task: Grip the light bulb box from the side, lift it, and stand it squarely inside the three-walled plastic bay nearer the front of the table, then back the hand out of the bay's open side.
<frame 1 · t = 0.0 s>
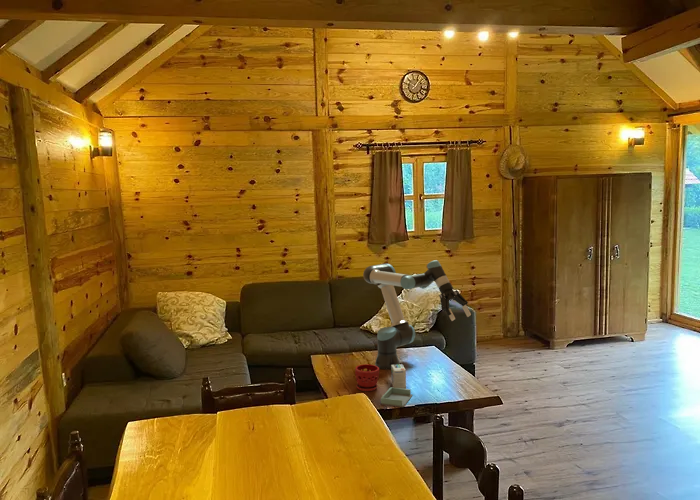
hand: (461, 318, 288), 36 cm above the table, tool tilted 35°, fingers open, 13 cm apart
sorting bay: (397, 399, 266), on the table
light bulb box: (398, 386, 286), on the table
plant pot: (367, 388, 283), on the table
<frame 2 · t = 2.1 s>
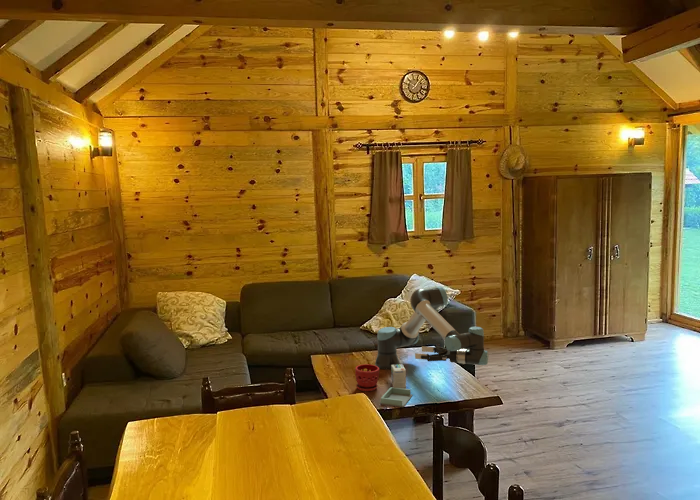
hand: (418, 352, 279), 20 cm above the table, tool horizontal, fingers open, 13 cm apart
nothing on the table moved.
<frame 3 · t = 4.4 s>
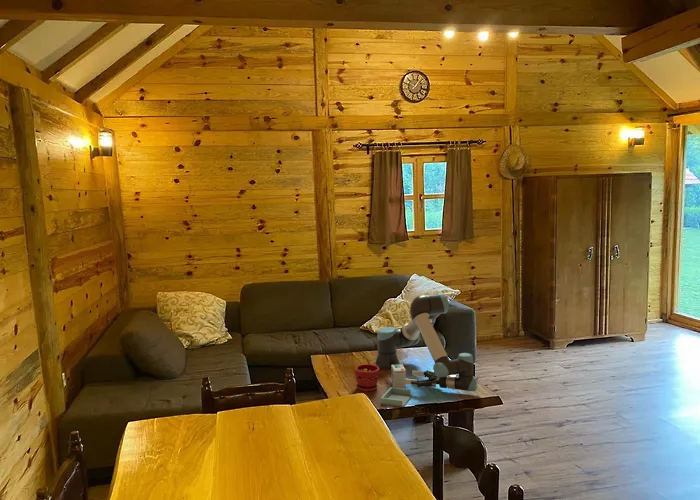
hand: (408, 377, 282), 6 cm above the table, tool horizontal, fingers open, 13 cm apart
nothing on the table moved.
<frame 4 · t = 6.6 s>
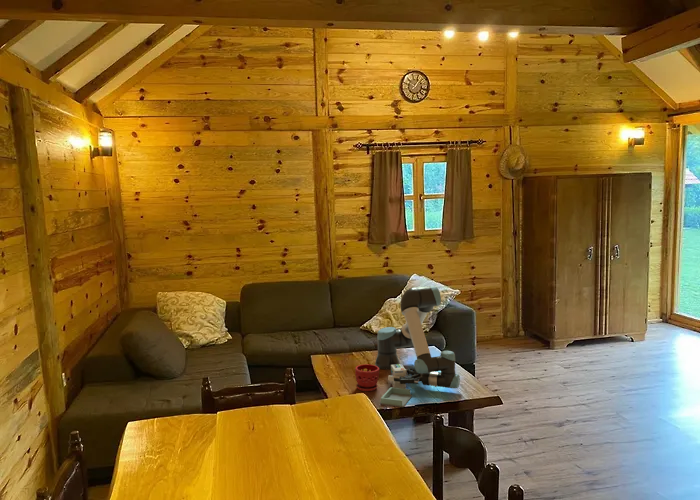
hand: (392, 374, 286), 6 cm above the table, tool horizontal, fingers closed on light bulb box, 12 cm apart
light bulb box: (398, 386, 286), on the table, touching gripper
everything else where it was.
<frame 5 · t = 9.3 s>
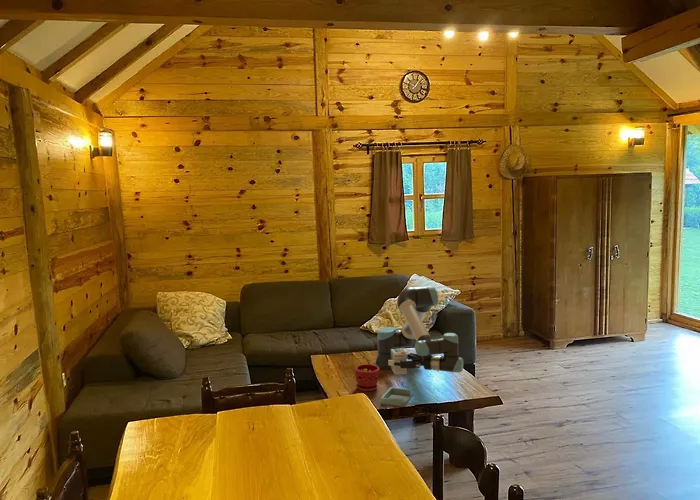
hand: (392, 359, 273), 19 cm above the table, tool horizontal, fingers closed on light bulb box, 12 cm apart
light bulb box: (398, 371, 272), point 13 cm above the table, touching gripper
everything else where it was.
when the fingers open (8 cm above the table, at t = 12.4 s): light bulb box stays where it is, resting on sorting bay.
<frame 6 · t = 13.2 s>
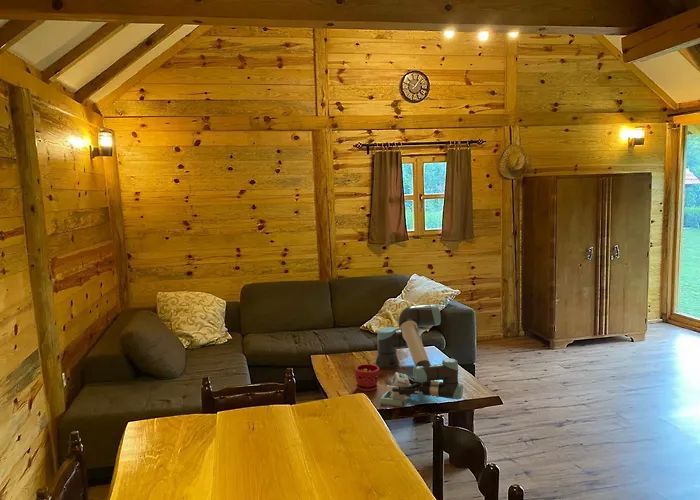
hand: (391, 383, 266), 8 cm above the table, tool horizontal, fingers open, 13 cm apart
light bulb box: (396, 396, 266), point 2 cm above the table, touching gripper, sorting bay
everything else where it was.
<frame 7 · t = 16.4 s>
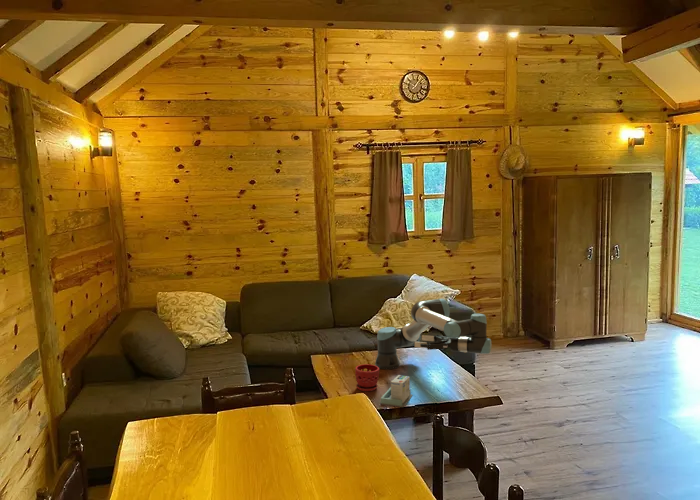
hand: (418, 340, 267), 30 cm above the table, tool horizontal, fingers open, 13 cm apart
light bulb box: (400, 399, 266), resting on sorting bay
everything else where it was.
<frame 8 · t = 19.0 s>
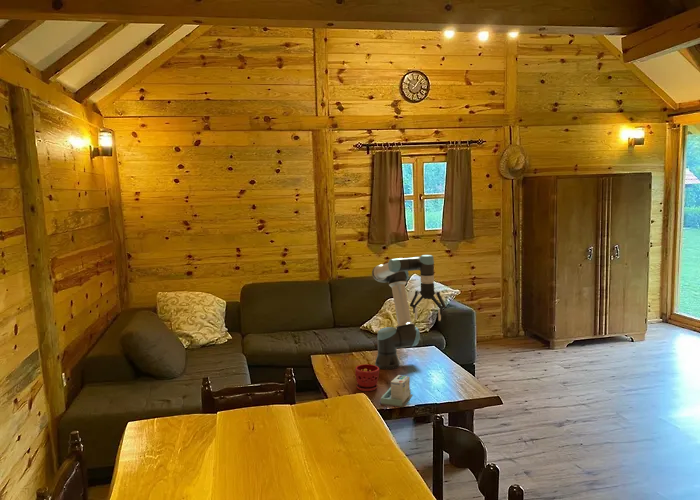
hand: (427, 319, 292), 35 cm above the table, tool pointing down, fingers open, 13 cm apart
nothing on the table moved.
at the end: light bulb box inside the target area on the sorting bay (1.9 cm from its centre), point 0.4 cm above the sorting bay's base; light bulb box tilted 0°; the gripper is holding nothing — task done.
